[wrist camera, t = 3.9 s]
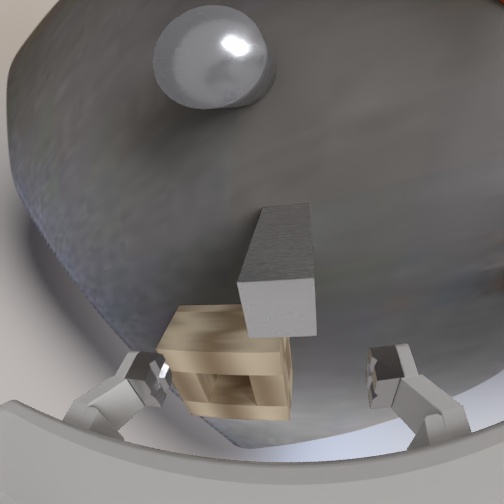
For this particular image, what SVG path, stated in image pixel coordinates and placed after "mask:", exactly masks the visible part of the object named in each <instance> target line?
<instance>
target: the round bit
mask: <svg viewBox="0 0 504 504" xmlns="http://www.w3.org/2000/svg"><path fill="white" fill-rule="evenodd" d="M153 70H154V75H155V78H156V80H157V83H158V84H159V86H160V88H161V89H162V90H163V92H164V93H165V94H166V95H167V96H168V97H169V98H171V99H172V100H174V101H175V102H177V103H179V104H181V105H184V106H186V107H190V108H196V109H213V108H234V107H244V106H248V105H250V104H253V103H255V102H257V101H258V100H260V99H261V98H262V97H264V96H265V95H266V94H267V92H268V91H269V90H270V88H271V87H272V85H273V82H274V79H275V75H276V64H275V60H274V57H273V55H272V53H271V51H270V49H269V47H268V45H267V43H266V42H265V40H264V38H263V36H262V34H261V32H260V30H259V29H258V27H257V26H256V24H255V23H254V22H253V21H252V20H251V19H250V18H249V17H248V16H246V15H245V14H243V13H242V12H240V11H238V10H236V9H233V8H230V7H227V6H220V5H208V6H202V7H197V8H194V9H191V10H189V11H187V12H185V13H183V14H181V15H180V16H178V17H177V18H175V19H174V20H173V21H172V22H171V23H170V24H169V25H168V26H167V27H166V28H165V29H164V31H163V32H162V34H161V35H160V37H159V39H158V41H157V43H156V46H155V49H154V54H153Z"/></svg>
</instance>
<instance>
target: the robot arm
mask: <svg viewBox="0 0 504 504" xmlns="http://www.w3.org/2000/svg"><path fill="white" fill-rule="evenodd" d="M165 360H166V359H165V358H164V356H163V354H160V353H150V352H141V351H140V352H139V351H130V352H129V353H128V354H127V355H126V357H125V359H124V361H123V362H122V364H121V366H120V367H119V369H118V371H117V373H116V374H115V376H114V377H110V378H108V379H107V380H105V381H104V382H103V383H101V384H99V385H98V386H96V387H95V388H93V389H92V390H90V391H88V392H87V393H85V394H84V395H82V396H81V397H79V398H78V399H76V400H75V401H74V402H73V403H72V405H71V407H70V408H69V410H68V412H67V414H66V415H65V417H64V419H63V421H61V420H59V419H56V418H54V417H52V416H50V415H47V414H45V413H43V412H40V411H38V410H36V409H34V408H32V407H29V406H27V405H25V404H23V403H21V402H19V401H17V400H11V401H8V402H6V403H4V404H2V405H0V504H504V421H502V422H500V423H497V424H495V425H492V426H489V427H487V428H484V429H481V430H479V431H476V432H473V433H471V430H470V426H469V423H468V421H467V417H466V414H465V411H464V408H463V406H462V405H461V404H460V403H458V402H457V401H456V400H454V399H453V398H452V397H451V396H449V395H448V394H447V393H445V392H444V391H443V390H442V389H440V388H439V387H438V386H436V385H435V384H434V383H432V382H431V381H430V380H429V379H427V378H426V377H425V376H423V375H418V372H417V369H416V366H415V363H414V360H413V357H412V354H411V351H410V348H409V345H408V344H407V343H405V344H398V345H391V346H384V347H377V348H369V350H368V362H367V363H366V374H365V376H366V385H367V387H368V388H369V394H368V398H369V404H370V409H377V408H385V407H391V408H392V409H393V410H394V411H395V412H396V413H397V414H398V416H399V417H400V418H401V419H402V420H403V421H404V422H405V423H406V424H407V425H408V427H409V428H410V429H411V430H412V431H413V432H414V433H415V434H416V436H415V437H414V439H413V440H412V442H411V444H410V445H409V447H408V448H407V450H406V451H402V452H397V453H391V454H385V455H379V456H372V457H364V458H356V459H348V460H336V461H321V462H295V463H294V462H289V463H288V462H287V463H286V462H251V461H237V460H226V459H216V458H208V457H200V456H193V455H187V454H181V453H175V452H169V451H165V450H160V449H155V448H150V447H146V446H141V445H137V444H133V443H130V442H126V441H124V438H123V437H122V436H121V435H120V434H119V432H118V430H119V429H120V428H121V427H122V426H123V425H124V424H125V423H127V422H128V421H129V420H130V419H131V418H132V417H133V416H134V415H136V414H137V413H138V412H139V411H140V410H141V409H142V408H143V407H144V405H147V406H155V407H162V405H163V403H164V400H165V398H166V393H165V390H167V389H168V388H169V387H170V385H171V382H172V372H171V369H170V367H169V366H168V365H166V364H165V363H164V362H165Z"/></svg>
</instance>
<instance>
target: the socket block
mask: <svg viewBox="0 0 504 504" xmlns="http://www.w3.org/2000/svg"><path fill="white" fill-rule="evenodd" d="M156 350H157V352H158V353H160V354H163V356H164V358H165V359H166V360H165V362H164V363H165V364H166V365H168V366H169V367H170V369H171V372H172V381H173V383H174V385H175V387H176V389H177V391H178V392H179V394H180V396H181V398H182V399H183V401H184V403H185V405H186V406H187V408H188V410H189V412H190V413H191V415H198V416H207V417H218V418H230V419H245V420H275V421H289V419H290V407H291V395H292V382H293V369H292V360H291V351H290V342H289V337H273V338H249V334H248V330H247V326H246V321H245V317H244V312H243V308H242V304H229V305H179V307H178V309H177V311H176V312H175V314H174V316H173V318H172V320H171V322H170V323H169V325H168V327H167V329H166V331H165V333H164V335H163V336H162V338H161V340H160V342H159V344H158V346H157V348H156Z"/></svg>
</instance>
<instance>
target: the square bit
mask: <svg viewBox="0 0 504 504" xmlns="http://www.w3.org/2000/svg"><path fill="white" fill-rule="evenodd" d="M237 286H238V290H239V295H240V299H241V304H242V308H243V312H244V317H245V321H246V326H247V330H248V334H249V338H273V337H300V336H317V327H316V299H315V279H314V262H313V247H312V234H311V222H310V211H309V203H307V204H295V205H284V206H273V207H263V208H262V211H261V214H260V217H259V220H258V223H257V226H256V229H255V231H254V234H253V237H252V240H251V243H250V246H249V249H248V252H247V255H246V258H245V260H244V263H243V266H242V269H241V272H240V275H239V278H238V281H237Z"/></svg>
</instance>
